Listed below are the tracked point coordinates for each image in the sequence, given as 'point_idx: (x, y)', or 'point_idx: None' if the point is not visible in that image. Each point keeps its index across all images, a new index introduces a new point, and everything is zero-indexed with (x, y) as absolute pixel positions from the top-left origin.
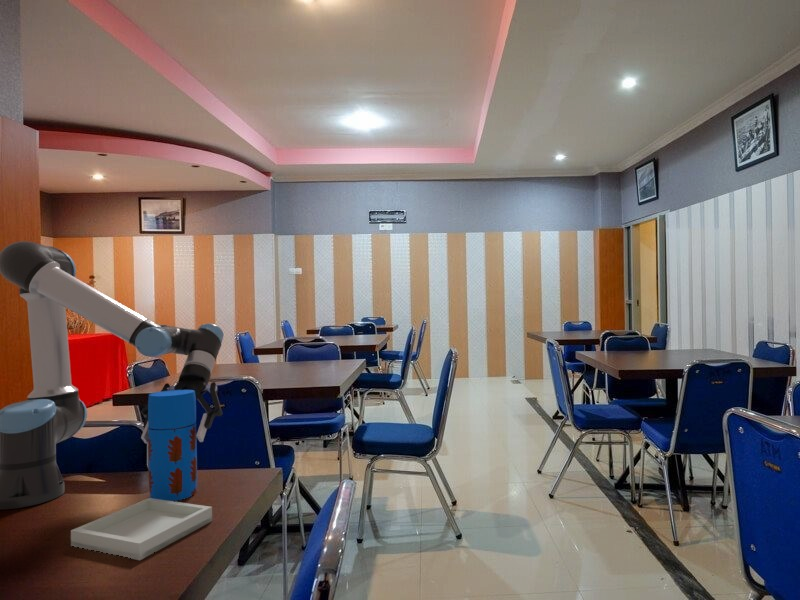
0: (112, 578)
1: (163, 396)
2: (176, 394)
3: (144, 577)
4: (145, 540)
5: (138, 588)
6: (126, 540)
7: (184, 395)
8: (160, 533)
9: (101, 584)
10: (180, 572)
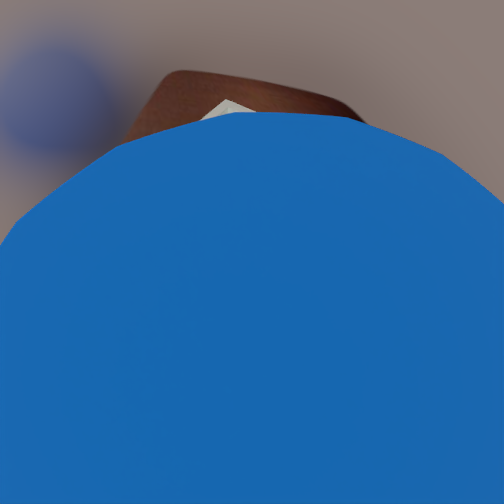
0: (245, 94)
1: (351, 121)
2: (183, 188)
3: (209, 89)
4: (219, 104)
5: (211, 77)
6: (247, 109)
7: (67, 196)
8: (203, 118)
9: (252, 88)
10: (172, 90)
